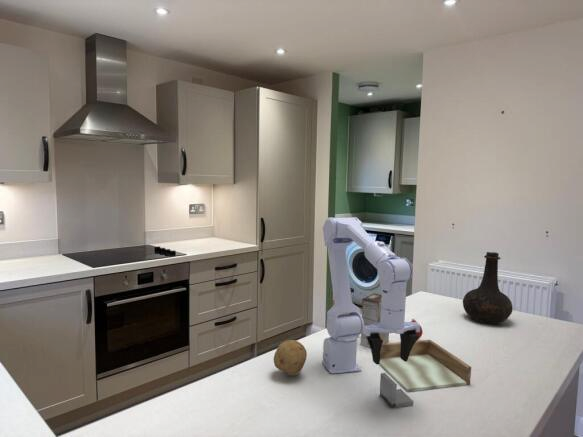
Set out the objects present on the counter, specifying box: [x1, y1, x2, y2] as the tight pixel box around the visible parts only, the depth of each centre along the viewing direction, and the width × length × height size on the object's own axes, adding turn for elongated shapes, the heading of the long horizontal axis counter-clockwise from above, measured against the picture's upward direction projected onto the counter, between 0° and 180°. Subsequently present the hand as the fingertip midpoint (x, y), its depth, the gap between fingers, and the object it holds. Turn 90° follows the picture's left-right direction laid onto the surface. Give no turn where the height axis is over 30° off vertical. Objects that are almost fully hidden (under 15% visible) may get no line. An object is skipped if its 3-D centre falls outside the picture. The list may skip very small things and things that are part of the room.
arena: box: [378, 339, 472, 393], centre depth 116 cm, size 19×19×5 cm
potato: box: [273, 339, 308, 377], centre depth 112 cm, size 9×9×10 cm
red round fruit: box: [410, 318, 423, 340], centre depth 138 cm, size 6×6×8 cm
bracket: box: [379, 372, 414, 409], centre depth 100 cm, size 6×6×6 cm
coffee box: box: [360, 292, 390, 348], centre depth 135 cm, size 9×6×16 cm
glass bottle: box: [462, 251, 513, 325], centre depth 162 cm, size 18×18×28 cm
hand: (390, 361), depth 99 cm, fingers open, 7 cm apart
